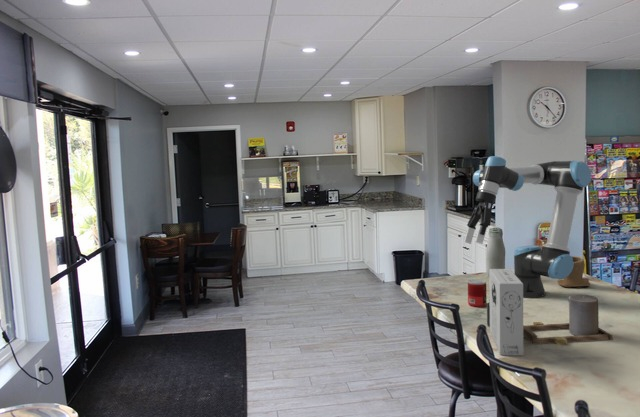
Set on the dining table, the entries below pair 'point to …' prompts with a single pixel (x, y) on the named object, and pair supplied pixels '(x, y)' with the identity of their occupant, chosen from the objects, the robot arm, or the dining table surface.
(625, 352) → the dining table surface
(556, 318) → the dining table surface
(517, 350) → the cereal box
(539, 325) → the frame
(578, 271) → the stone cup
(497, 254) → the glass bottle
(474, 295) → the canned food
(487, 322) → the supplement bottle
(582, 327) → the pillar candle
